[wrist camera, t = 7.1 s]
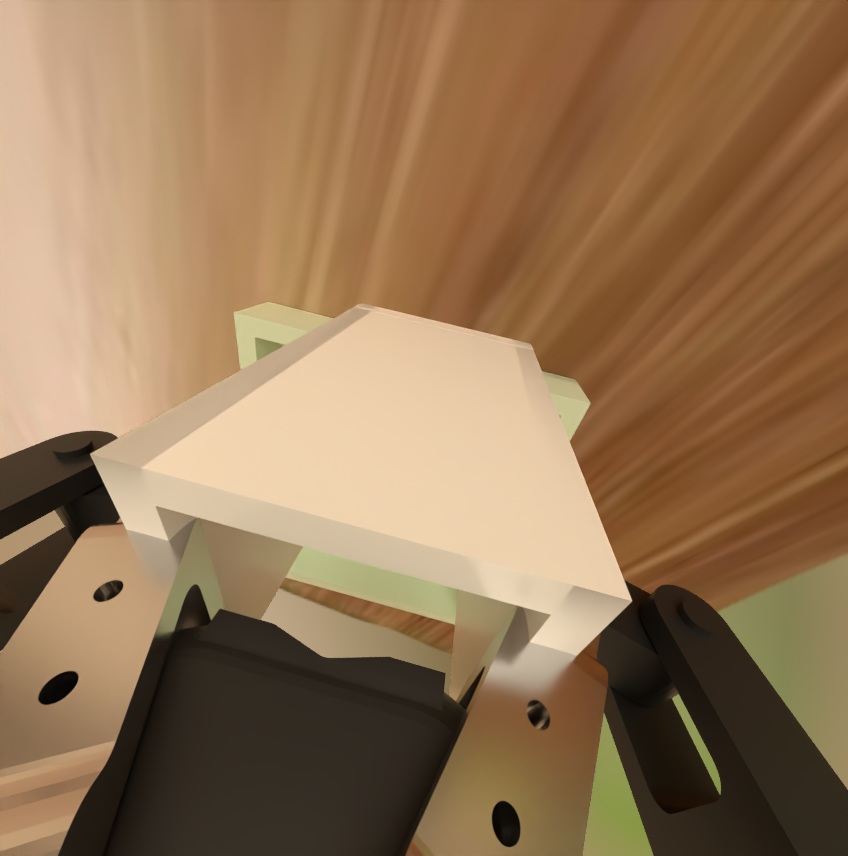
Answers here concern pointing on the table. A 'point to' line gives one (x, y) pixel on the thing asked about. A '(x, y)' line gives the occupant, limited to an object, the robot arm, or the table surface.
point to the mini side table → (384, 477)
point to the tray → (257, 339)
